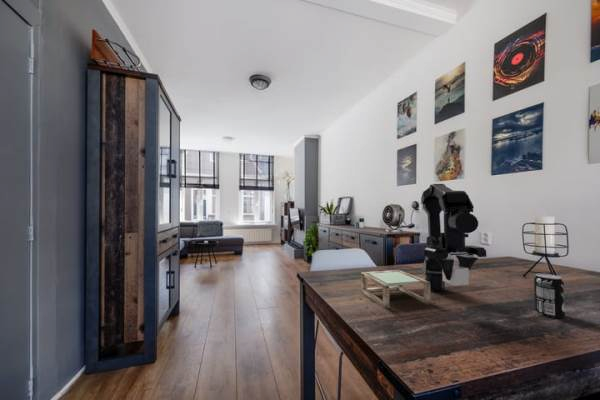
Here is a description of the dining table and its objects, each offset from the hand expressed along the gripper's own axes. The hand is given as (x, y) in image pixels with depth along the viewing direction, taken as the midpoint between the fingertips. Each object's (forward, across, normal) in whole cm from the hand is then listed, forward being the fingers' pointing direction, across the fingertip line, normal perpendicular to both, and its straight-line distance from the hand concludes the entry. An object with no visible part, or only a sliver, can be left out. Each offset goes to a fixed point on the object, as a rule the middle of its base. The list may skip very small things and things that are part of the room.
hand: (455, 279), depth 77 cm
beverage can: (+11, -28, +7) cm, 31 cm away
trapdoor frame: (+11, +11, -17) cm, 23 cm away
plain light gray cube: (+1, 0, 0) cm, 1 cm away
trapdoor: (+4, +11, -17) cm, 21 cm away
